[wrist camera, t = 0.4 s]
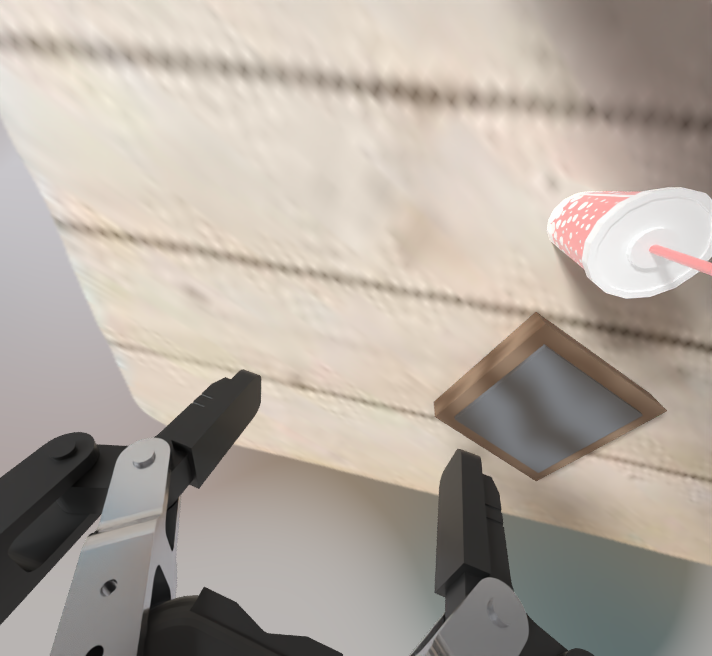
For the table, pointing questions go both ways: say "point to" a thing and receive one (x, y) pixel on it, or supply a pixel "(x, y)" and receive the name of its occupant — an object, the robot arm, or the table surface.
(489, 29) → the table surface
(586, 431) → the walnut stand
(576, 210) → the beverage cup
